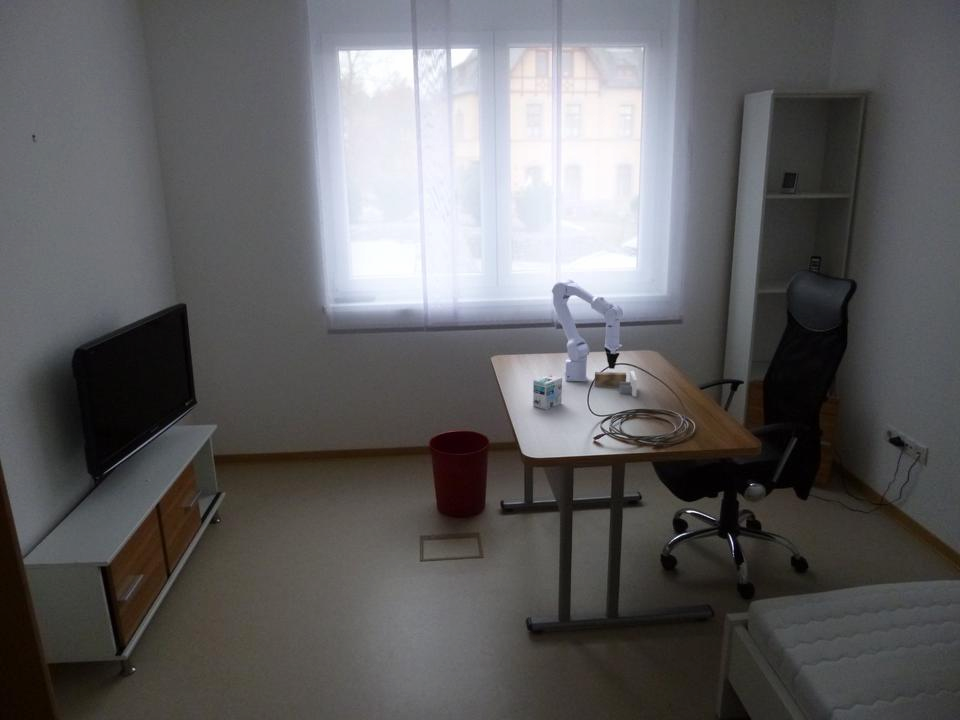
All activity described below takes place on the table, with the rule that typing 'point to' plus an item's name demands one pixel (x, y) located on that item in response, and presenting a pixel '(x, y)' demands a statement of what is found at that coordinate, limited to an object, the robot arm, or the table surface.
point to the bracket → (629, 385)
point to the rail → (609, 379)
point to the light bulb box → (547, 392)
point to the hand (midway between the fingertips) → (611, 365)
